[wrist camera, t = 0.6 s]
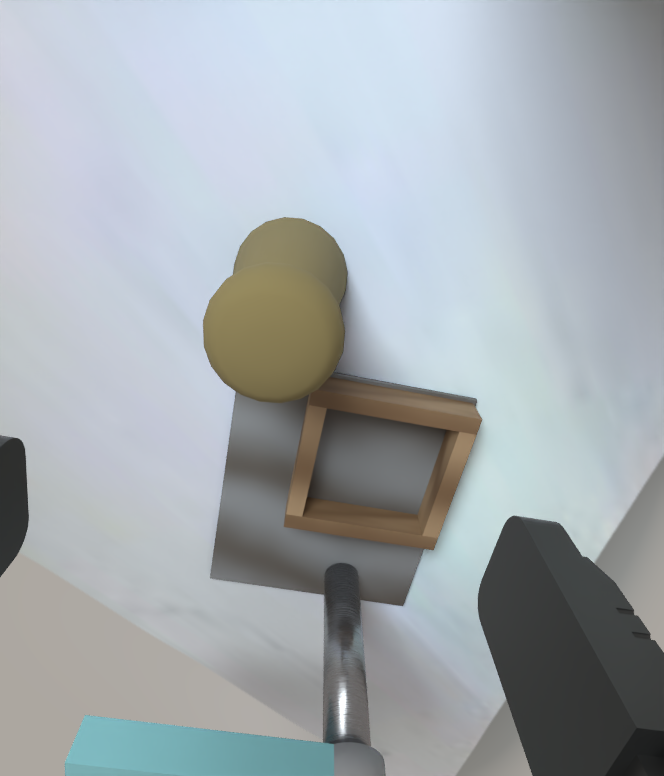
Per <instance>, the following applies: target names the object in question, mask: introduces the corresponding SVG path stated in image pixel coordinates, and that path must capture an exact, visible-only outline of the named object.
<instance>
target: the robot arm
mask: <svg viewBox="0 0 664 776" xmlns="http://www.w3.org/2000/svg"><path fill="white" fill-rule="evenodd" d="M28 520H29V514H28V494H27V475H26V456H25V448H24V445H23V442H22V441H21V440H20V439H18V438H13V437H6V436H0V577H1V575H2V574H3V573H4V572H5V570H6V569H7V568H8V566H9V565H10V564H11V563H12V561H13V560H14V558H15V557H16V556H17V554H18V552H19V550H20V548H21V546H22V544H23V542H24V539H25V536H26V532H27V528H28ZM478 612H479V618H480V622H481V625H482V628H483V631H484V634H485V637H486V640H487V643H488V646H489V649H490V652H491V654H492V657H493V660H494V663H495V666H496V669H497V672H498V675H499V678H500V681H501V684H502V687H503V690H504V693H505V696H506V699H507V702H508V704H509V707H510V710H511V713H512V716H513V719H514V722H515V725H516V728H517V731H518V734H519V737H520V740H521V743H522V746H523V748H524V752H525V754H526V757H527V760H528V763H529V766H530V769H531V772H532V775H533V776H664V653H663V651H662V650H661V648H660V647H659V646H658V644H657V643H656V641H655V640H651V639H650V633H649V631H648V630H647V628H646V627H645V625H644V624H643V622H642V621H641V619H640V618H639V617H638V616H635V615H634V609H633V608H632V606H631V605H630V604H629V602H628V601H627V599H626V598H625V596H624V595H623V593H622V592H621V591H620V589H619V588H618V586H617V585H616V583H615V582H614V581H613V580H612V579H611V578H610V577H608V576H607V575H606V574H605V573H604V572H603V571H602V570H601V569H599V568H598V567H597V566H596V565H595V564H594V563H593V562H592V561H591V560H590V559H589V558H587V557H582V555H581V554H580V552H579V551H578V549H577V548H576V546H575V545H574V543H573V542H572V540H571V538H570V537H569V535H568V534H567V532H566V531H565V529H564V528H563V527H562V526H561V525H560V524H559V523H557V522H552V521H545V520H539V519H532V518H526V517H519V516H512V517H510V518H509V519H508V520H507V521H506V523H505V525H504V527H503V529H502V531H501V534H500V536H499V539H498V541H497V544H496V546H495V549H494V551H493V554H492V556H491V559H490V561H489V564H488V566H487V568H486V571H485V573H484V576H483V578H482V581H481V584H480V588H479V593H478Z"/></svg>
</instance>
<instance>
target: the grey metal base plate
mask: <svg viewBox="0 0 664 776" xmlns="http://www.w3.org/2000/svg"><path fill="white" fill-rule="evenodd" d="M476 403H477V399H475V398H470V397H465V396H459V395H454V394H448V393H443V392H437V391H432V390H427V389H421V388H416V387H410V386H405V385H400V384H394V383H389V382H383V381H378V380H372V379H367V378H362V377H356V376H351V375H345V374H340V373H334V372H333V373H332V375H331V376H330V377H329V378H328V379H327V380H326V381H325V382H324V383H323V384H322V386H321V387H320V388H319V389H317V390H316V391H314V392H312V393H310V394H309V395H307V396H305V397H303V398H301V399H298V400H293V401H289V402H284V403H271V402H260V401H257V400H254V399H251V398H248V397H246V396H243V395H240V394H239V393H238V392H236V394H235V402H234V409H233V416H232V423H231V430H230V438H229V445H228V452H227V459H226V466H225V474H224V481H223V488H222V495H221V502H220V510H219V517H218V524H217V531H216V538H215V546H214V553H213V560H212V567H211V574H210V578H212V579H219V580H226V581H233V582H240V583H247V584H254V585H261V586H268V587H275V588H282V589H289V590H296V591H303V592H310V593H317V594H324V574H325V571H326V569H327V568H328V567H330V566H331V565H333V564H336V563H347V564H350V565H352V566H354V567H355V568H356V569H357V571H358V575H359V589H360V600H366V601H373V602H379V603H386V604H393V605H400V606H403V604H404V602H405V599H406V596H407V593H408V591H409V588H410V585H411V582H412V580H413V577H414V574H415V571H416V569H417V566H418V563H419V560H420V558H421V555H422V552H423V549H429V550H434V547H435V545H436V542H437V539H438V537H439V534H440V531H441V529H442V526H443V523H444V520H445V518H446V515H447V512H448V510H449V507H450V504H451V502H452V499H453V496H454V494H455V491H456V488H457V486H458V483H459V480H460V478H461V475H462V472H463V470H464V467H465V464H466V462H467V459H468V456H469V454H470V451H471V448H472V446H473V443H474V440H475V438H476V435H477V432H478V430H479V427H480V424H481V421H482V418H481V417H480V415H479V413H478V411H477V409H476V408H475V406H476Z"/></svg>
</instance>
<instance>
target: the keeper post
mask: <svg viewBox="0 0 664 776" xmlns="http://www.w3.org/2000/svg"><path fill="white" fill-rule="evenodd" d="M343 742H354V743H361V744H365V745H368V746H370V747H371V742H370V728H369V714H368V700H367V686H366V672H365V658H364V644H363V631H362V617H361V603H360V589H359V575H358V571H357V569H356V568H355V567H354V566H352V565H350V564H347V563H336V564H333V565H331V566H330V567H328V568H327V569H326V571H325V574H324V687H323V743H329V744H336V743H343Z"/></svg>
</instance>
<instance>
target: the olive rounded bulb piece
mask: <svg viewBox="0 0 664 776" xmlns="http://www.w3.org/2000/svg"><path fill="white" fill-rule="evenodd" d="M346 282H347V268H346V263H345V259H344V255H343V253H342V251H341V249H340V248H339V246H338V244H337V243H336V241H335V239H334V238H333V237H332V236H331V235H329V234H328V233H327V232H326V231H325V230H324V229H323V228H321V227H320V226H318V225H316V224H314V223H311V222H309V221H307V220H304V219H298V218H286V217H284V218H280V219H276V220H272V221H268V222H265V223H264V224H262V225H261V226H259V227H258V228H256V229H255V230H253V231H252V232H251V233H250V234H249V235H248V237H247V238H246V239H245V241H244V242H243V243H242V244H241V246H240V248H239V251H238V254H237V257H236V260H235V264H234V270H233V275H232V276H230V277H229V278H227V279H226V280H225V281H224V283H223V284H222V285H221V286H220V288H219V289H218V290H217V292H216V293H215V294H214V295H213V297H212V298H211V299H210V301H209V304H208V307H207V310H206V313H205V316H204V320H203V333H204V348H205V351H206V353H207V356H208V359H209V362H210V364H211V367H212V368H213V369H214V370H215V372H216V373H217V374H218V376H219V377H220V378H221V380H222V381H223V382H224V383H225V384H227V385H228V386H229V387H231V388H232V389H233V390H235V391H236V392H238V393H239V394H240V395H243V396H246V397H248V398H251V399H254V400H257V401H260V402H271V403H284V402H289V401H293V400H298V399H301V398H303V397H305V396H307V395H309V394H310V393H312V392H314V391H316V390H317V389H319V388H320V387H321V386H322V384H323V383H324V382H325V381H326V380H327V379H328V378H329V377H330V376H331V375H332V373H333V372H334V371H335V368H336V366H337V364H338V362H339V360H340V357H341V355H342V353H343V346H344V336H345V328H344V323H343V319H342V315H341V310H340V306H339V305H340V302H341V300H342V297H343V295H344V293H345V290H346Z"/></svg>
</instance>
